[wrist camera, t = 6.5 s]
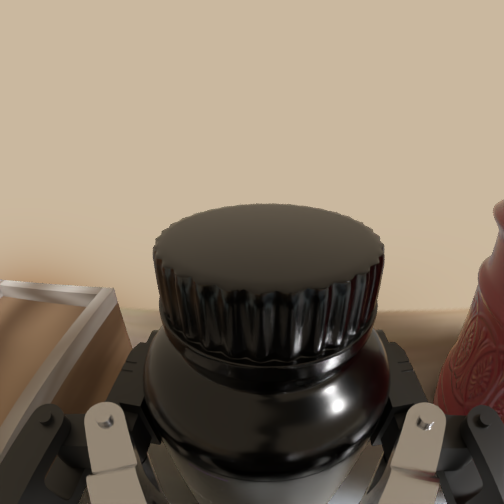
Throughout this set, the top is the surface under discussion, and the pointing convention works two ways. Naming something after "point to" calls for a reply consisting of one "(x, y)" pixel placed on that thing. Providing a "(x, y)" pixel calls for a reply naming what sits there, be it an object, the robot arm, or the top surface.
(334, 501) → the top surface
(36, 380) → the open rectangular tray
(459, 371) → the canister
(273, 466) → the supplement bottle
